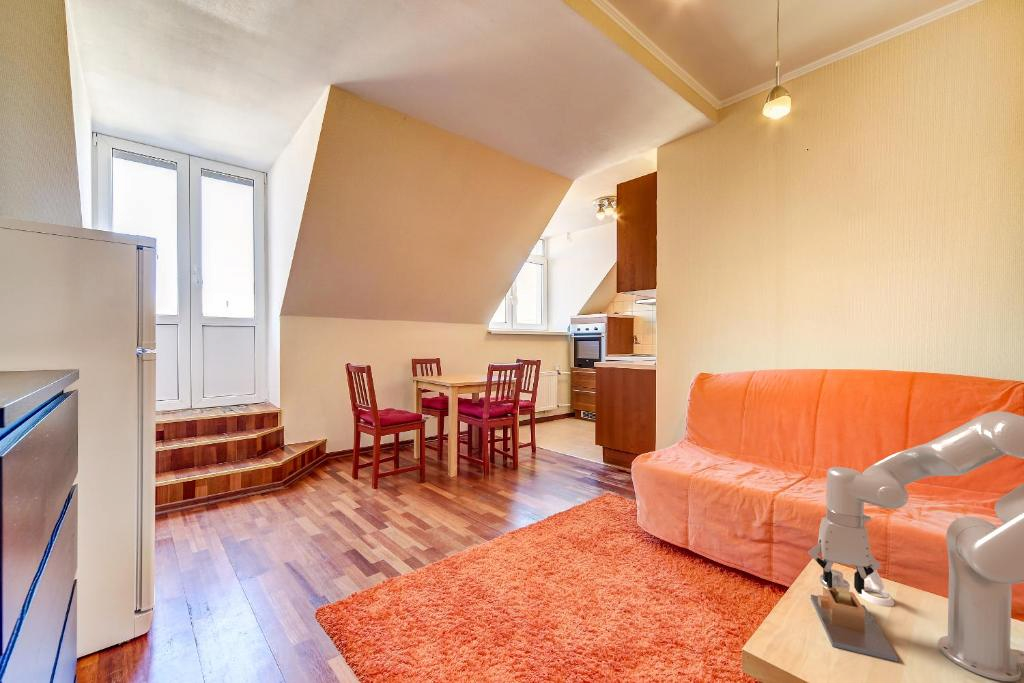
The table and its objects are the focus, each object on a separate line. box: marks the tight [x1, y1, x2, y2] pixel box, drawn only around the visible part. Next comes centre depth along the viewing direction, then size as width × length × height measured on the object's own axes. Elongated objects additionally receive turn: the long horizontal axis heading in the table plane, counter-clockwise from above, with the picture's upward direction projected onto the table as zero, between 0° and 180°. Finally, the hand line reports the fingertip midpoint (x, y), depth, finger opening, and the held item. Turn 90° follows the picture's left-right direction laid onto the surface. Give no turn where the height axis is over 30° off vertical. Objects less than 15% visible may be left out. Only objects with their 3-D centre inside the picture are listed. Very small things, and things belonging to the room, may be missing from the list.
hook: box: [858, 570, 895, 607], centre depth 119 cm, size 8×12×7 cm
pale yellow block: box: [836, 586, 851, 606], centre depth 109 cm, size 2×4×7 cm, turn 152°
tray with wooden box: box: [810, 568, 898, 663], centre depth 108 cm, size 12×22×9 cm, turn 157°
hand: (843, 587), depth 109 cm, fingers open, 5 cm apart
